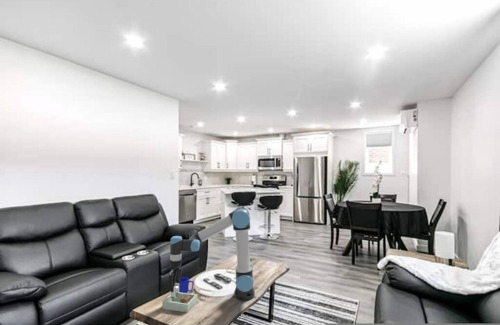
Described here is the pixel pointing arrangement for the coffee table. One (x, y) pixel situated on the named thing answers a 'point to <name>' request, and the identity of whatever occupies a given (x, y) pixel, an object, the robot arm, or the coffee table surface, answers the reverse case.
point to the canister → (176, 292)
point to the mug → (185, 285)
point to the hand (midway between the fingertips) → (174, 294)
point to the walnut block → (185, 299)
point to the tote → (176, 305)
